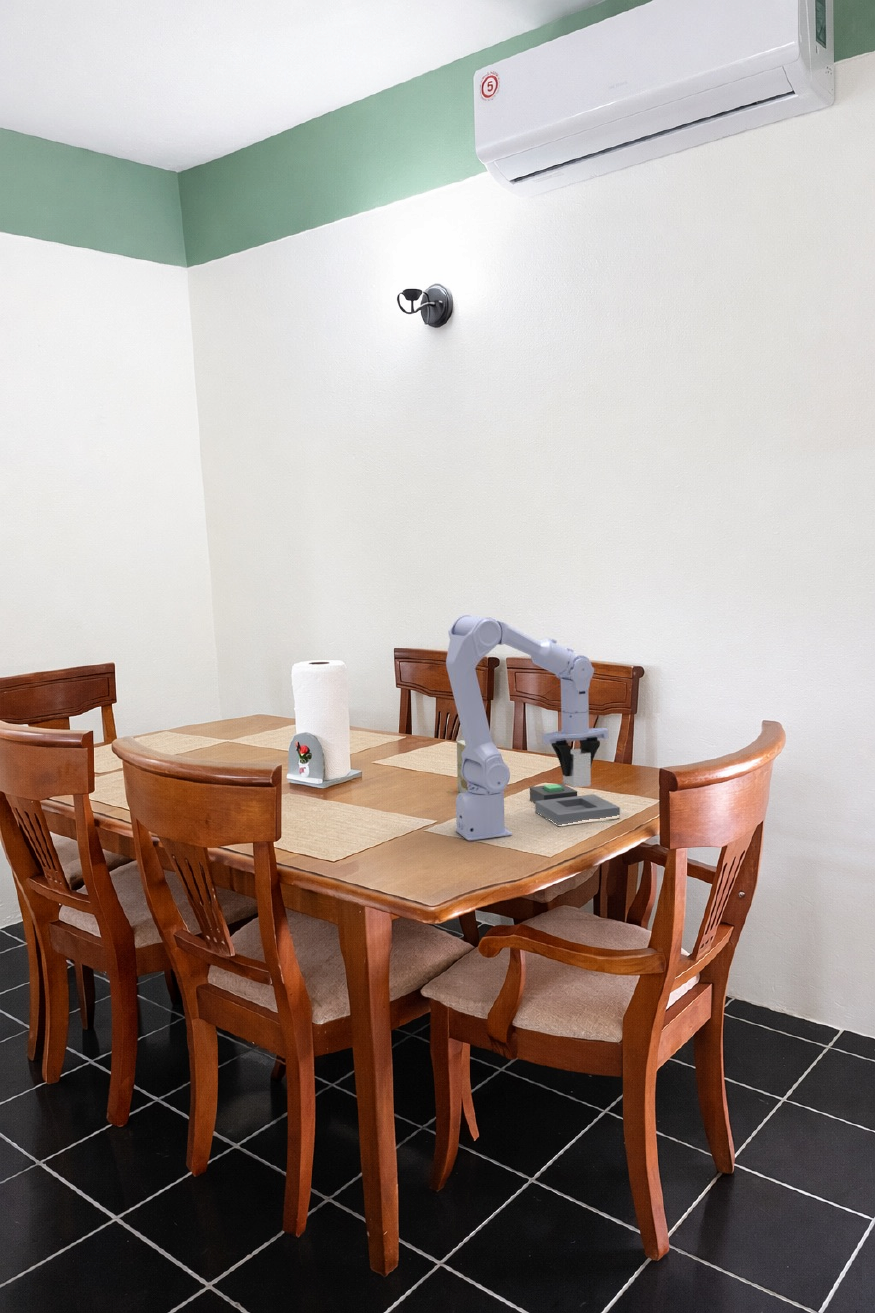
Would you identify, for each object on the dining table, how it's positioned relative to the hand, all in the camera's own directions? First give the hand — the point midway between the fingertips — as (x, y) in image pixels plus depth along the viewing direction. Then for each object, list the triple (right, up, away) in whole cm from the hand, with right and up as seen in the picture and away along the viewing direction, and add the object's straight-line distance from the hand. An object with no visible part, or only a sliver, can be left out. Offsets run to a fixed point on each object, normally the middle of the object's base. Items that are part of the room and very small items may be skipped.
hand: (576, 774), depth 211 cm
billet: (0, -2, 0) cm, 2 cm away
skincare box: (-22, -7, +23) cm, 33 cm away
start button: (-3, -6, +12) cm, 14 cm away
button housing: (-3, -8, +13) cm, 15 cm away
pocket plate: (0, -9, +1) cm, 9 cm away
